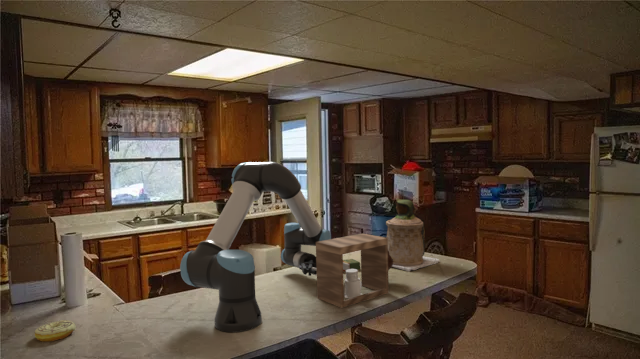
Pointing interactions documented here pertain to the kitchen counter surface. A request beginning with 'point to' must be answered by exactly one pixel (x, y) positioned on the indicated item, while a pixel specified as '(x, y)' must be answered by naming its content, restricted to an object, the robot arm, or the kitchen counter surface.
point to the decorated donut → (54, 330)
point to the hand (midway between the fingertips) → (336, 270)
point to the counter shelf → (332, 267)
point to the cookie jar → (407, 238)
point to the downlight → (352, 284)
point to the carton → (352, 264)
